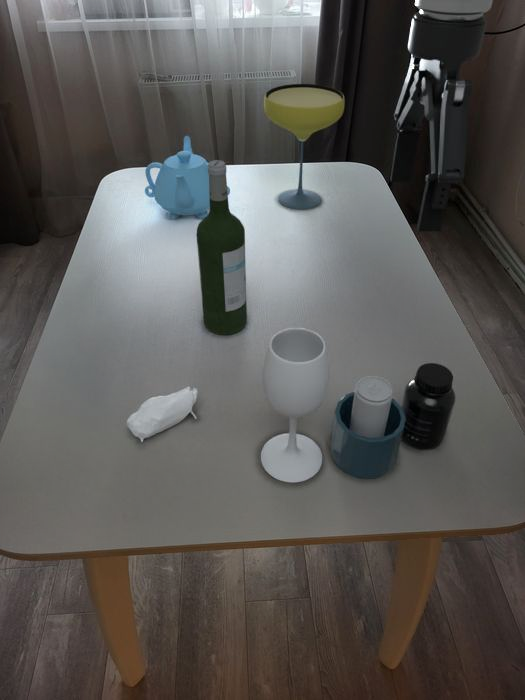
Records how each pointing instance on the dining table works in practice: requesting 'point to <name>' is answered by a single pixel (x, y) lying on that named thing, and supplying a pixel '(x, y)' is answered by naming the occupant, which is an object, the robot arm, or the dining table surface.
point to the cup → (365, 442)
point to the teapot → (181, 184)
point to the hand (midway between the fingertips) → (413, 203)
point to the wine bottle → (222, 259)
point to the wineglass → (294, 400)
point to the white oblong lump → (161, 413)
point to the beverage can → (371, 407)
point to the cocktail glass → (303, 124)
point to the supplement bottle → (428, 406)
